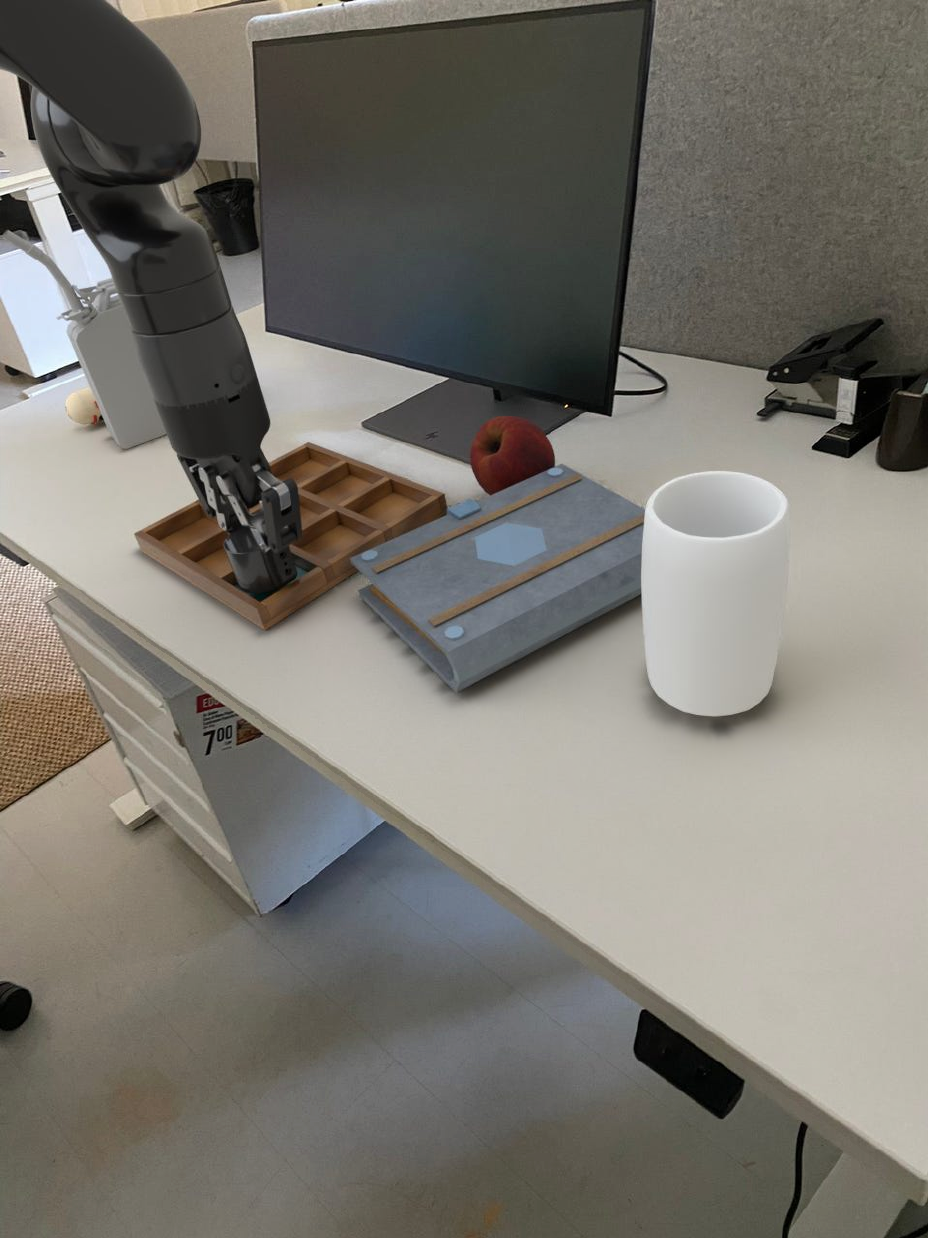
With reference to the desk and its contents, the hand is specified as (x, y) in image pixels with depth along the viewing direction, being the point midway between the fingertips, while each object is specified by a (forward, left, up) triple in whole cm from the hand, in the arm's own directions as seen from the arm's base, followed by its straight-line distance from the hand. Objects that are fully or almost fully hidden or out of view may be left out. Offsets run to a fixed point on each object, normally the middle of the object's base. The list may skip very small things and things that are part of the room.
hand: (268, 571), depth 73 cm
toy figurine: (+12, +52, -2) cm, 53 cm away
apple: (+23, -7, -2) cm, 24 cm away
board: (+7, +7, -2) cm, 10 cm away
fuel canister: (+12, +42, -2) cm, 43 cm away
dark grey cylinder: (-1, 0, 0) cm, 1 cm away
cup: (+11, -35, -2) cm, 37 cm away
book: (+12, -17, -2) cm, 21 cm away
